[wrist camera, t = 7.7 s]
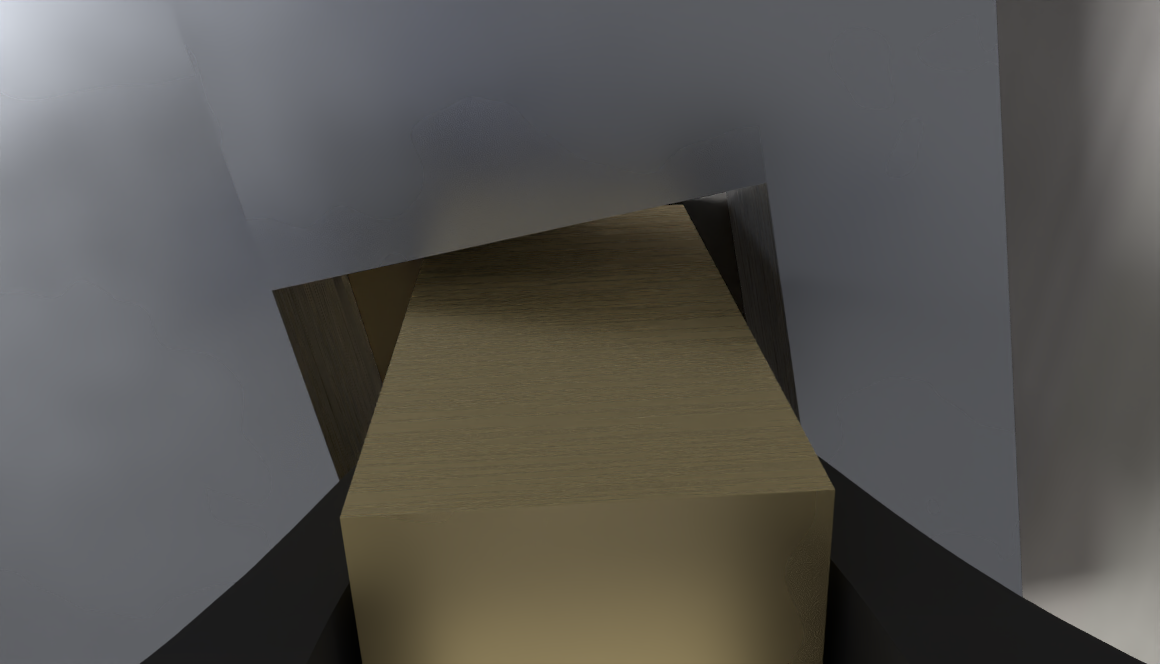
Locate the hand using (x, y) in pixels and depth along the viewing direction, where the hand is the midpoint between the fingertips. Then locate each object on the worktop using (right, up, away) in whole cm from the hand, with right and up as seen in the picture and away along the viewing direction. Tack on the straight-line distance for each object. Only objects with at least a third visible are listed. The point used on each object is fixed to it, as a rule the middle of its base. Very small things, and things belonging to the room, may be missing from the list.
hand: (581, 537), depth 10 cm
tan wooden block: (0, +2, +4) cm, 4 cm away
